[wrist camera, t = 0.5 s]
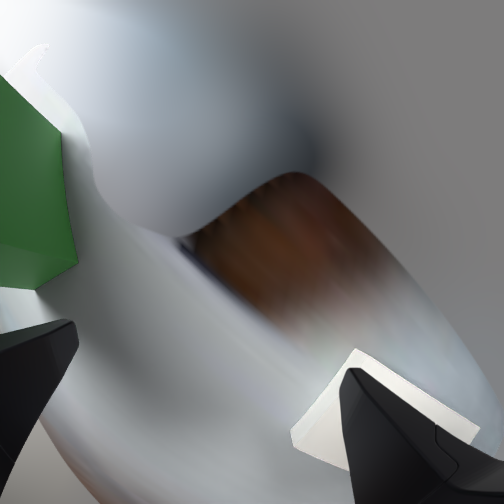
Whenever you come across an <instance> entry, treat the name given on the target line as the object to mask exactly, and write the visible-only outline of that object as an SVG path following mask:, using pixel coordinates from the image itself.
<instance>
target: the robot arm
mask: <svg viewBox="0 0 504 504" xmlns="http://www.w3.org/2000/svg"><path fill="white" fill-rule="evenodd" d="M78 346H79V339H78V334H77V329H76V325H75V323H74V322H73V321H71V320H68V319H60V320H56V321H52V322H48V323H44V324H40V325H36V326H32V327H28V328H24V329H20V330H16V331H12V332H8V333H4V334H0V497H1V494H2V492H3V489H4V487H5V485H6V482H7V480H8V477H9V475H10V473H11V471H12V469H13V466H14V464H15V463H14V462H16V460H17V458H18V456H19V454H20V452H21V450H22V448H23V446H24V444H25V442H26V440H27V438H28V436H29V434H30V433H31V431H32V429H33V427H34V425H35V423H36V422H37V420H38V418H39V416H40V415H41V413H42V411H43V409H44V408H45V406H46V404H47V403H48V401H49V399H50V398H51V396H52V394H53V393H54V391H55V390H56V388H57V386H58V385H59V383H60V381H61V380H62V378H63V376H64V374H65V372H66V370H67V368H68V366H69V364H70V362H71V360H72V358H73V356H74V355H75V353H76V351H77V349H78ZM339 400H340V411H341V424H342V434H343V439H344V444H345V449H346V455H347V460H348V465H349V471H350V476H351V482H352V488H353V494H354V500H355V504H504V461H501V460H497V459H495V458H493V457H491V456H489V455H487V454H485V453H483V452H482V451H480V450H478V449H476V448H474V447H472V446H470V445H469V444H467V443H465V442H463V441H462V440H460V439H458V438H457V437H455V436H454V435H452V434H451V433H449V432H448V431H446V430H445V429H443V428H442V427H440V426H439V425H438V424H436V425H435V422H433V421H432V420H431V419H429V418H428V417H426V416H425V415H424V414H422V413H421V412H419V411H418V410H417V409H415V408H414V407H413V406H411V405H410V404H409V403H407V402H406V401H404V400H403V399H402V398H400V397H399V396H398V395H396V394H395V393H394V392H392V391H391V390H390V389H388V388H387V387H386V386H384V385H383V384H382V383H380V382H379V381H378V380H376V379H375V378H374V377H372V376H371V375H370V374H368V373H367V372H366V371H364V370H363V369H362V368H355V367H350V368H348V369H347V370H346V372H345V375H344V377H343V380H342V382H341V385H340V388H339Z"/></svg>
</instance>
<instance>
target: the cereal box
mask: <svg viewBox="0 0 504 504" xmlns="http://www.w3.org/2000/svg"><path fill="white" fill-rule="evenodd" d="M76 264H78V259H77V254H76V250H75V246H74V241H73V236H72V231H71V226H70V220H69V214H68V208H67V201H66V194H65V186H64V177H63V166H62V152H61V132H60V131H59V130H58V129H57V128H55V127H54V126H53V125H52V124H51V123H50V122H49V121H48V120H47V119H46V118H45V117H44V116H43V115H41V114H40V113H39V112H38V111H37V110H36V109H35V108H34V107H33V106H32V105H31V104H30V103H29V102H28V101H27V100H26V99H25V98H24V97H22V96H21V95H20V94H19V93H18V92H17V91H16V90H15V89H14V88H13V87H12V86H11V85H10V84H9V83H8V82H7V81H6V80H5V79H4V78H3V77H2V76H1V75H0V287H10V288H19V289H30V290H35V289H37V288H38V287H40V286H41V285H43V284H44V283H46V282H48V281H49V280H51V279H52V278H54V277H56V276H57V275H59V274H61V273H62V272H64V271H66V270H67V269H69V268H71V267H72V266H74V265H76Z"/></svg>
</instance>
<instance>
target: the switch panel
mask: <svg viewBox="0 0 504 504" xmlns="http://www.w3.org/2000/svg"><path fill="white" fill-rule="evenodd" d="M350 367H355V368H362V369H363V370H364V371H366V372H367V373H368V374H370V375H371V376H372V377H374V378H375V379H376V380H378V381H379V382H380V383H382V384H383V385H384V386H386V387H387V388H388V389H390V390H391V391H392V392H394V393H395V394H396V395H398V396H399V397H400V398H402V399H403V400H404V401H406V402H407V403H409V404H410V405H411V406H413V407H414V408H415V409H417V410H418V411H419V412H421V413H422V414H424V415H425V416H426V417H428V418H429V419H431V420H432V421H433V422H435V425H436V424H438V425H439V426H440V427H442V428H443V429H445V430H446V431H448V432H449V433H451V434H452V435H454V436H455V437H457V438H458V439H460V440H462V441H463V442H465V443H467V444H470V443H471V442H472V440H473V439H474V437H475V436H476V434H477V433H478V431H479V430H480V427H479V426H477V425H475V424H474V423H472V422H471V421H469V420H467V419H466V418H464V417H463V416H461V415H459V414H458V413H456V412H455V411H453V410H452V409H450V408H448V407H447V406H445V405H444V404H442V403H441V402H439V401H437V400H436V399H434V398H433V397H431V396H430V395H428V394H427V393H425V392H424V391H422V390H420V389H419V388H417V387H416V386H414V385H413V384H411V383H410V382H408V381H407V380H405V379H404V378H402V377H401V376H399V375H398V374H396V373H395V372H393V371H392V370H390V369H389V368H387V367H386V366H384V365H383V364H381V363H380V362H378V361H377V360H375V359H374V358H372V357H371V356H369V355H367V354H365V353H363V352H362V351H360V350H358V349H356V348H355V349H354V350H353V352H352V353H351V354H350V356H349V357H348V359H347V360H346V362H345V363H344V364H343V366H342V367H341V368H340V370H339V371H338V373H337V374H336V375H335V377H334V378H333V379H332V381H331V382H330V383H329V384H328V386H327V387H326V388H325V390H324V391H323V392H322V393H321V395H320V396H319V397H318V398H317V400H316V401H315V402H314V403H313V404H312V406H311V407H310V408H309V409H308V410H307V412H306V413H305V414H304V415H303V416H302V417H301V419H300V420H299V421H298V422H297V423H296V424H295V425H294V426H293V428H292V429H291V430H290V434H291V438H292V442H293V447H294V448H296V449H298V450H300V451H302V452H304V453H307V454H309V455H311V456H313V457H315V458H318V459H320V460H322V461H324V462H327V463H329V464H332V465H334V466H336V467H339V468H341V469H344V470H347V471H349V465H348V460H347V455H346V449H345V444H344V439H343V434H342V424H341V411H340V400H339V388H340V385H341V382H342V380H343V377H344V375H345V372H346V370H347V369H348V368H350ZM349 472H350V471H349Z"/></svg>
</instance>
